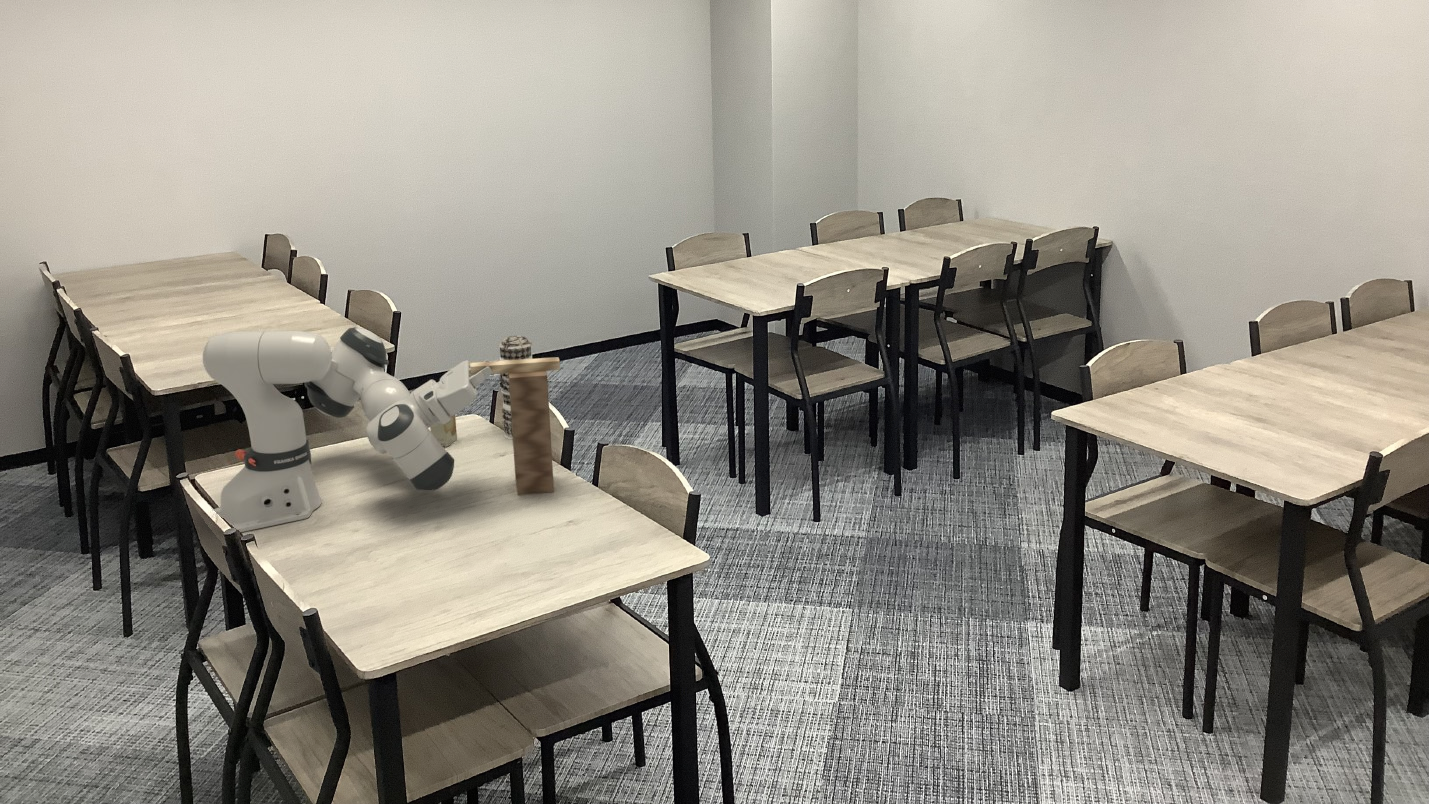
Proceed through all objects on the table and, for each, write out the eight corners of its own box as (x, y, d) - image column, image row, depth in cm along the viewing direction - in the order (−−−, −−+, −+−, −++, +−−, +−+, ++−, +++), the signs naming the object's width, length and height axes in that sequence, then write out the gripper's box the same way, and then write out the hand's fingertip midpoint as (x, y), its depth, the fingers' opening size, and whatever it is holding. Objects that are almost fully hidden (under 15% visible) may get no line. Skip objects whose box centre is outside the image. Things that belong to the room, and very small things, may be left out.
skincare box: (447, 447, 292) (443, 400, 289) (431, 446, 293) (426, 399, 289) (458, 438, 298) (454, 391, 295) (441, 437, 299) (437, 390, 295)
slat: (471, 375, 257) (470, 366, 256) (470, 371, 260) (470, 362, 259) (560, 369, 260) (559, 361, 260) (559, 365, 263) (558, 357, 262)
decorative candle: (518, 425, 307) (511, 331, 299) (546, 431, 302) (541, 336, 294) (494, 436, 299) (487, 340, 291) (523, 442, 295) (517, 345, 287)
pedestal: (517, 495, 264) (509, 377, 255) (515, 478, 273) (507, 364, 264) (553, 491, 265) (547, 375, 257) (550, 475, 274) (544, 362, 266)
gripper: (445, 397, 269) (497, 364, 269) (444, 427, 250) (500, 391, 250) (428, 374, 267) (481, 341, 267) (426, 403, 248) (483, 367, 248)
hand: (490, 365), depth 259 cm, fingers closed on slat, 3 cm apart
